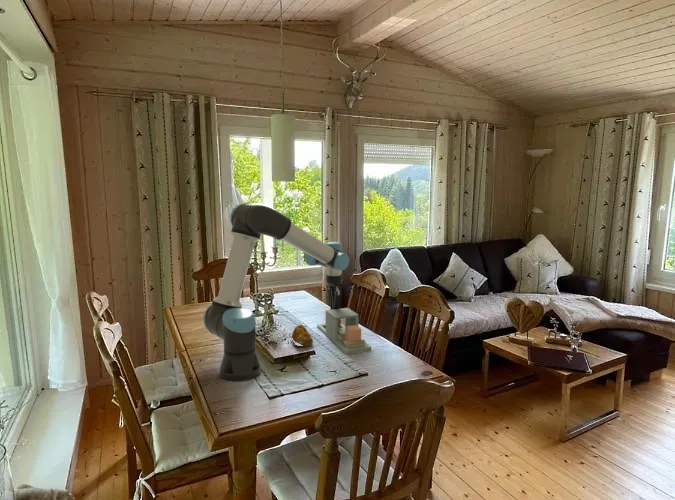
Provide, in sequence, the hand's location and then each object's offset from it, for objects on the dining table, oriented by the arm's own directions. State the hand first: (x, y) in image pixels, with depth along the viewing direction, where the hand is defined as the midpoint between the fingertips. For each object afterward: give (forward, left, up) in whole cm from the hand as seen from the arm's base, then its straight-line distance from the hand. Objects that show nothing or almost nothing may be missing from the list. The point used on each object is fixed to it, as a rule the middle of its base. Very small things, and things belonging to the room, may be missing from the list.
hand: (333, 321), depth 206 cm
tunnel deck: (-11, 0, -4) cm, 12 cm away
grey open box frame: (-14, 0, -3) cm, 14 cm away
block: (-23, 0, -1) cm, 23 cm away
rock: (-11, +20, -5) cm, 23 cm away
